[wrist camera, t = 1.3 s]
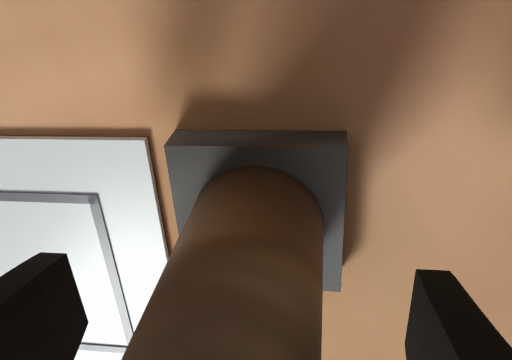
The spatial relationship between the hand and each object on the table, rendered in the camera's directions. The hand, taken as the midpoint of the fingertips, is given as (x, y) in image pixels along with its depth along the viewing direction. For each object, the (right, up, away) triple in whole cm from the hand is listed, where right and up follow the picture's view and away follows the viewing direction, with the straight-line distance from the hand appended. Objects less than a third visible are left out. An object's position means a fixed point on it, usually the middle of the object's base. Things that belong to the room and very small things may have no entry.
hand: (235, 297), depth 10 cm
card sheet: (-7, -1, +6) cm, 9 cm away
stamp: (+1, +2, +3) cm, 4 cm away
